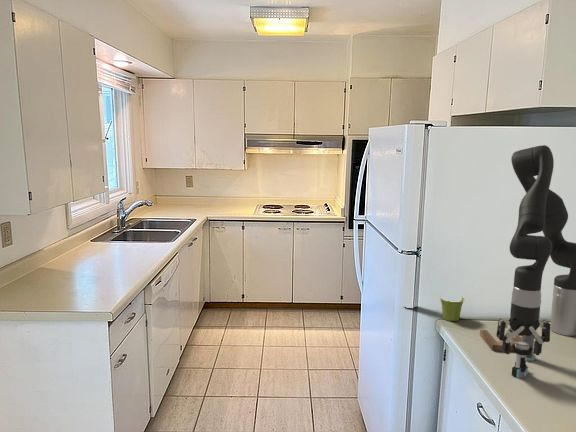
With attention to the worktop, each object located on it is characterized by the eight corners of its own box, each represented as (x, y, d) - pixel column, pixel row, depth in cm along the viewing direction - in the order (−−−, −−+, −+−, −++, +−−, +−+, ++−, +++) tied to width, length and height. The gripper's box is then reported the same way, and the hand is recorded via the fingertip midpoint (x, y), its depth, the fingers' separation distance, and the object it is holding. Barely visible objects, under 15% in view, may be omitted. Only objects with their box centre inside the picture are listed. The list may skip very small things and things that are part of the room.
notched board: (513, 335, 157) (514, 330, 157) (529, 351, 145) (529, 345, 145) (479, 335, 158) (479, 329, 158) (492, 350, 146) (492, 345, 146)
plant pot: (434, 318, 173) (435, 298, 172) (444, 312, 180) (445, 292, 178) (457, 325, 167) (458, 303, 165) (467, 318, 173) (468, 297, 172)
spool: (530, 354, 143) (533, 314, 141) (537, 361, 138) (541, 320, 136) (514, 354, 144) (517, 313, 141) (521, 361, 139) (524, 320, 136)
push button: (519, 367, 135) (521, 337, 133) (536, 375, 130) (539, 344, 129) (506, 373, 132) (508, 342, 130) (523, 381, 127) (525, 349, 126)
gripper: (544, 298, 131) (540, 348, 133) (495, 297, 132) (492, 347, 134) (557, 307, 123) (552, 360, 126) (505, 306, 124) (501, 358, 127)
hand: (521, 353), depth 130 cm, fingers open, 8 cm apart
